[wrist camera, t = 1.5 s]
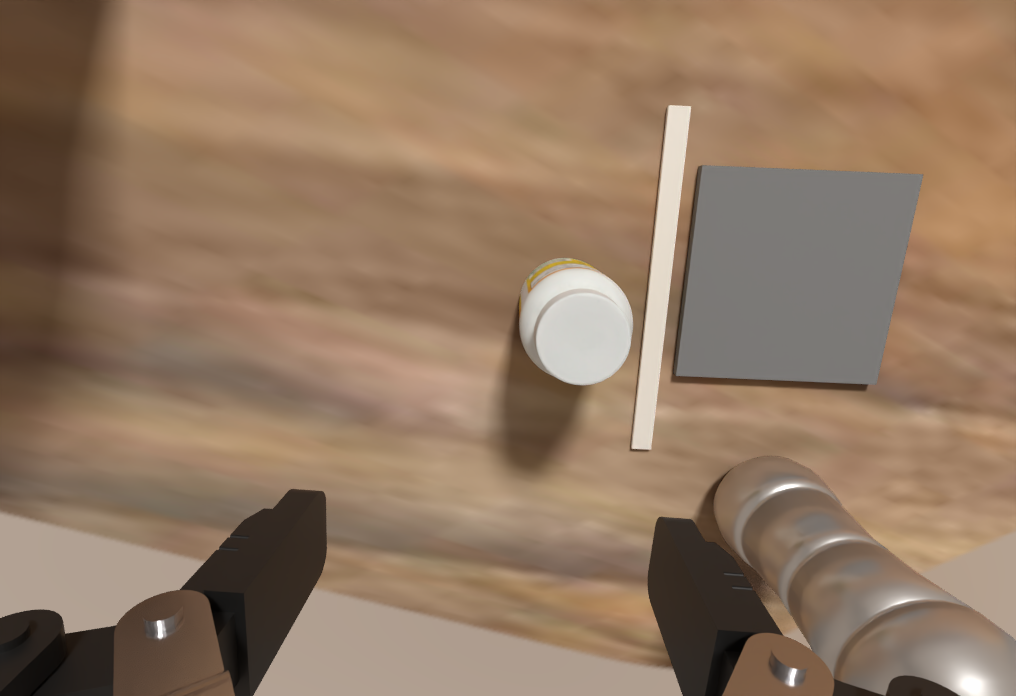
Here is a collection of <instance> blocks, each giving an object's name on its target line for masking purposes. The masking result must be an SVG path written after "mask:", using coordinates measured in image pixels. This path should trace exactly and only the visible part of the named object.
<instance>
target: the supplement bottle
mask: <svg viewBox="0 0 1016 696" xmlns="http://www.w3.org/2000/svg"><path fill="white" fill-rule="evenodd" d="M519 330H520V337H521V341H522V344H523V346H524V349H525V351H526V353H527V354H528V356H529V357H530V359H531V360H532V361H533V362H534V363H535V364H536V365H537V366H538V367H539V368H540V369H541V370H543V371H544V372H546V373H547V374H549V375H551V376H554V377H556V378H557V379H559V380H561V381H563V382H565V383H569V384H573V385H592V384H596V383H599V382H601V381H603V380H605V379H607V378H609V377H611V376H612V375H613V374H614V373H615V372H616V371H617V370H618V369H619V368H620V367H621V366H622V365H623V363H624V361H625V360H626V358H627V355H628V353H629V350H630V345H631V336H632V331H633V317H632V311H631V307H630V305H629V302H628V300H627V298H626V296H625V294H624V293H623V291H622V290H621V289H620V288H619V286H618V285H617V284H616V283H615V282H613V281H612V280H611V279H610V278H608V277H607V276H606V275H604V274H603V273H601V272H599V271H598V270H596V269H595V268H594V267H592V266H591V265H589V264H587V263H585V262H583V261H580V260H577V259H571V258H559V259H554V260H551V261H548V262H546V263H544V264H542V265H540V266H539V267H537V268H536V269H535V270H534V271H533V272H532V273H531V274H530V275H529V276H528V278H527V279H526V281H525V283H524V284H523V287H522V289H521V293H520V299H519Z"/></svg>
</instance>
